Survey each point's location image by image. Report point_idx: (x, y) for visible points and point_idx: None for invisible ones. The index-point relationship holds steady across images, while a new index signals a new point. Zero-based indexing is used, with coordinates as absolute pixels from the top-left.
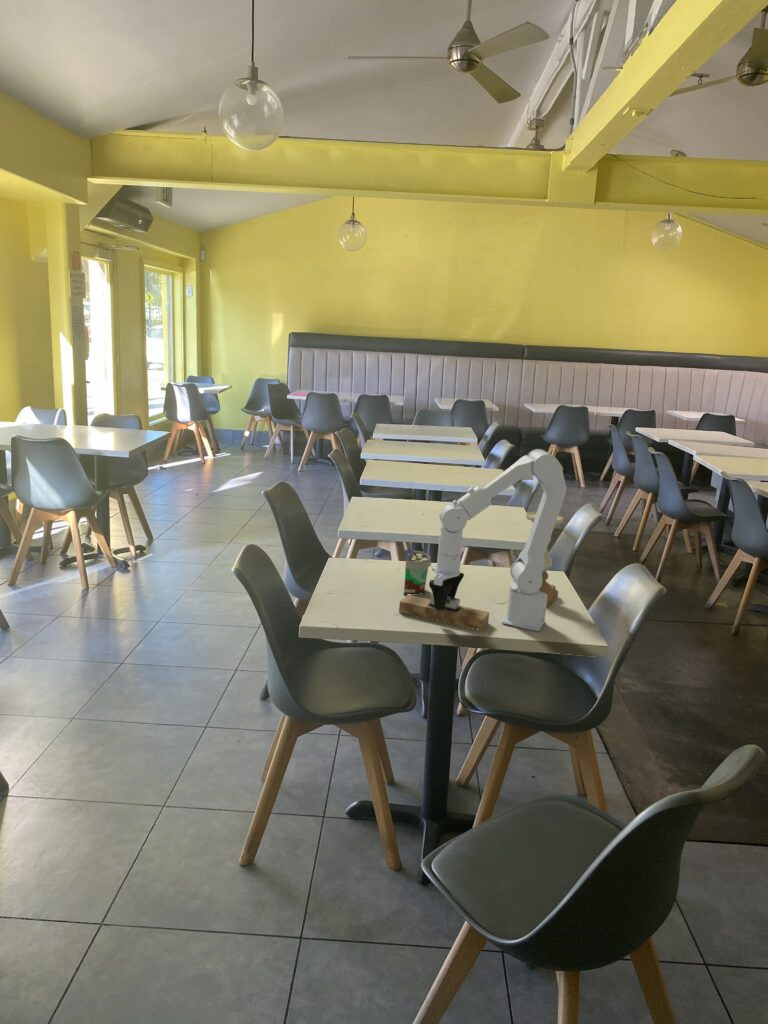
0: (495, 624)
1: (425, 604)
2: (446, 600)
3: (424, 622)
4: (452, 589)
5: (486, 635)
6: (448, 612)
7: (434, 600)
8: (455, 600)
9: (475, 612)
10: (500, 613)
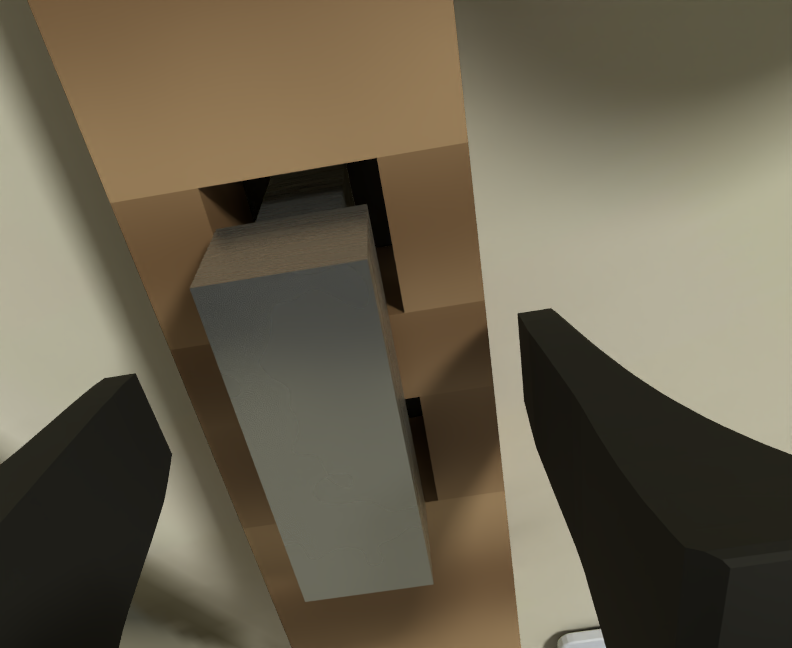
0: (522, 608)
1: (201, 148)
2: (269, 493)
3: (58, 212)
4: (575, 505)
5: (277, 641)
6: (220, 467)
7: (26, 452)
8: (334, 576)
9: (427, 615)
10: None
